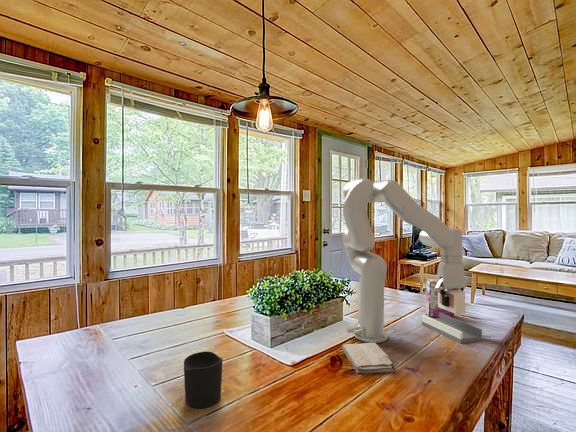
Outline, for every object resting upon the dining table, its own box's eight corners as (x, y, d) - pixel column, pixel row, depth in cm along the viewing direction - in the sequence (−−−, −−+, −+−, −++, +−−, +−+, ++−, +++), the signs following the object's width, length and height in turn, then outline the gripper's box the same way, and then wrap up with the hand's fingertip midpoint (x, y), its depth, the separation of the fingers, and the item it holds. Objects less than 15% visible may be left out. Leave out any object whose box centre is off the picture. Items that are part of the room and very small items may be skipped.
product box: (437, 307, 133) (437, 287, 132) (447, 305, 134) (447, 286, 134) (455, 313, 124) (455, 292, 124) (465, 312, 125) (465, 291, 125)
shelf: (421, 324, 137) (422, 315, 137) (440, 322, 140) (441, 313, 140) (460, 343, 118) (460, 332, 118) (481, 340, 121) (481, 329, 121)
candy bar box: (429, 317, 147) (429, 281, 146) (425, 313, 152) (426, 278, 151) (455, 318, 146) (455, 281, 145) (450, 314, 151) (451, 279, 150)
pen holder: (224, 388, 87) (225, 351, 87) (218, 409, 78) (218, 368, 77) (189, 388, 87) (189, 351, 87) (178, 410, 77) (178, 368, 77)
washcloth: (357, 376, 95) (357, 365, 95) (340, 349, 113) (340, 341, 113) (396, 374, 96) (396, 363, 96) (373, 348, 114) (373, 339, 114)
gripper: (460, 257, 135) (460, 300, 135) (426, 259, 130) (426, 304, 130) (476, 259, 128) (475, 305, 128) (441, 262, 122) (440, 310, 123)
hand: (451, 304), depth 129 cm, fingers closed on product box, 4 cm apart
